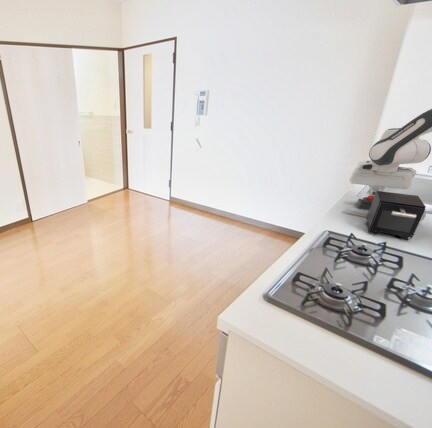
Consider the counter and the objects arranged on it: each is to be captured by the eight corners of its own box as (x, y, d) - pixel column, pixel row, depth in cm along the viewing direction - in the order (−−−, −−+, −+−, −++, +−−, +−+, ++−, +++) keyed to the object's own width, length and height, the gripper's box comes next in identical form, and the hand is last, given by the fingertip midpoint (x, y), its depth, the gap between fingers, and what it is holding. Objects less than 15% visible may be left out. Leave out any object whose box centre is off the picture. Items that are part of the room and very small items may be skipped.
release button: (375, 199, 130) (376, 196, 129) (376, 202, 127) (377, 198, 126) (366, 198, 131) (367, 195, 131) (367, 200, 129) (368, 197, 128)
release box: (378, 206, 132) (382, 198, 130) (381, 212, 126) (384, 204, 124) (357, 202, 136) (359, 195, 134) (358, 208, 130) (361, 200, 128)
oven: (409, 241, 103) (425, 206, 98) (367, 233, 110) (380, 200, 104) (403, 228, 112) (418, 195, 106) (365, 221, 119) (376, 190, 113)
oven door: (415, 244, 98) (429, 215, 93) (371, 236, 104) (382, 208, 99) (411, 236, 102) (424, 207, 98) (370, 229, 109) (380, 201, 104)
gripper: (416, 166, 119) (404, 196, 125) (354, 161, 130) (345, 189, 136) (419, 170, 114) (406, 201, 120) (355, 165, 125) (346, 193, 131)
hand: (374, 195), depth 128 cm, fingers closed
